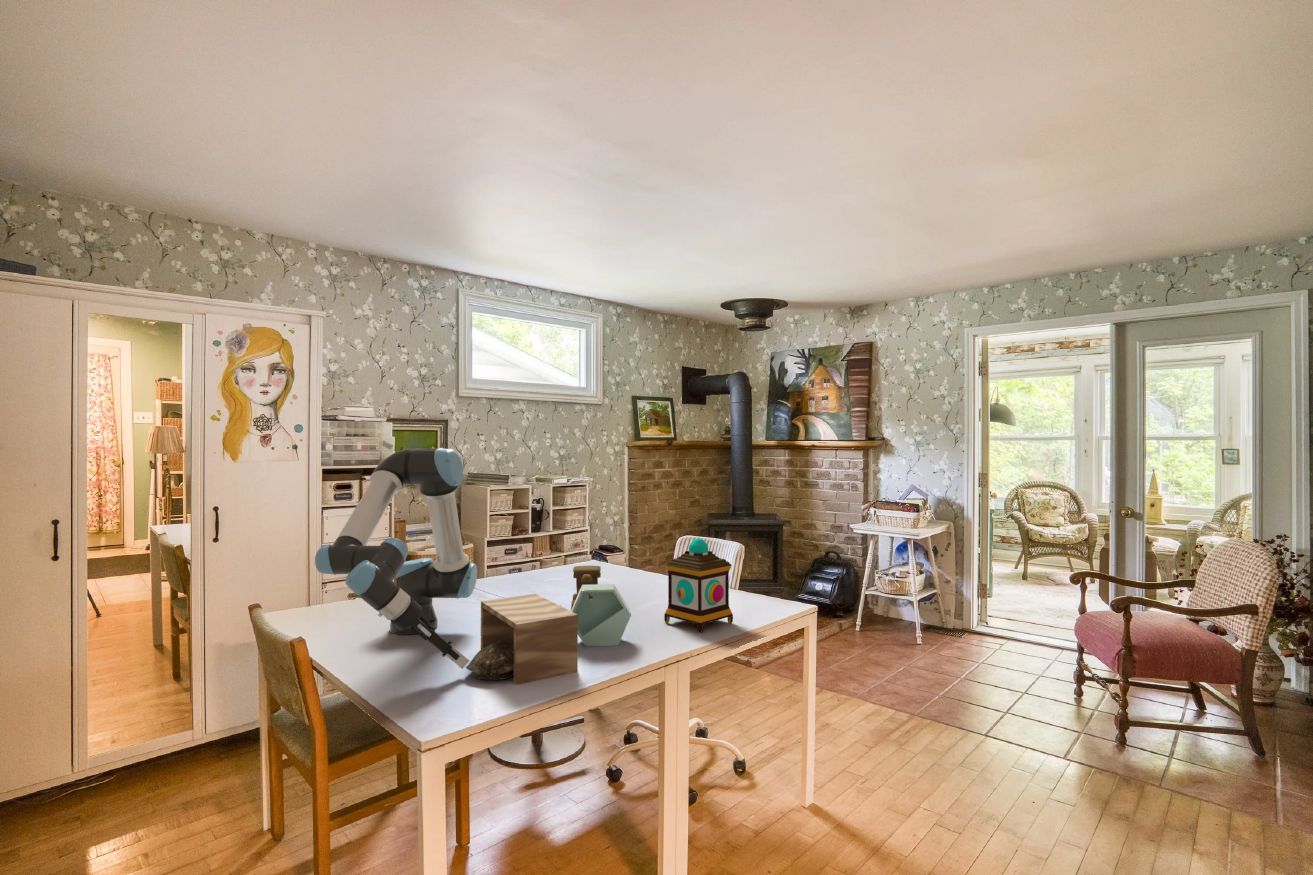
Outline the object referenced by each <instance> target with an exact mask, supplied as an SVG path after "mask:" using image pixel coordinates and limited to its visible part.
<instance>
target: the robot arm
mask: <svg viewBox="0 0 1313 875" xmlns="http://www.w3.org/2000/svg"><path fill="white" fill-rule="evenodd" d="M463 472H464V467H463V461H462V459H461V457H460V455H459V453H458V452H457V451H455V450H454V449H452V448H442V447H438V448H403V449H400V450H398V451H395V452H394V453H392V454H390V455H389V456H387V457H385V459H383V460H382V461H380V463H379V464H378V465H377V466H376V467H375V469H374V470H373V471H372V473H371V474H370V477H369V485H368V487H367V489H366V490H365V492H364V493H363V495H362V497H361V498H360V500H359V502H358V503H357V505H356V507H355V508H354V510H353V511H352V513H351V514H350V516H349V518H348V519H347V521H346V523H345V525H344V526H343V528H342V529H341V531H340V533H339V535H338V536H337V538H336V539H335V541H334V542H333V544H327V545H323V546H321V547H319V548H318V550H317V551H316V554H315V556H314V565H315V568H316V570H317V572H318V573H320V574H324V575H333V576H337V575H347V576H346V578H345V580H344V582H345V585H346V586H347V587H348V588H349V589H350V590H351V591H352V592H353V593H354V594H355V595H356V596H358V597H359V598H360V599H361V600H362V601H364V602H365V603H366V604H368V605H369V606H370V607H372V608H373V609H374V610H375V611H377V613H378V614H377V616H378V617H380V618H381V617H382V616H383V617H384V618H385V619H386V620H387V621H390V623H389V631H391V632H390V633H392V632H393V633H392V634H396V635H404V634H405V635H417V636H419V637H421V638H422V640H423V639H424V640H425V641H428V642H429V643H431V645H433V646H434V647H436V649H438V650H439V651H441V652H442V654H441V656H442V657H443V658H444V657H446V656H447V658H448V659H449V660H451V661H452V662H453V663H454V664H455V665H457V667H459V668H460V669H462V670H463V669H464V668H466V667H467V665H468V664H469V663H470V660H469V659H468V658H467V657H466V656H465V655H464V654H463V653H461V652H460V651H459V649H457V648H456V647H454V645H452V643H453V641H451V640H448V641H447V640H446V639H445V638H443V637H442V636H441V635H440V634H438V632H436V629H437V628H438V625H439V624H438V622H439V620H438V617H437V614H436V611H435V608H434V605H433V599H456V600H458V599H466V598H469V597H470V596H471V595H472V594H473V593H474V589H475V587H476V583H477V579H478V566H477V564H476V563H474V562H470V561H471V560H470V557H469V555H468V554H466V553H465V552H464V547H463V542H462V540H463V539H462V533H461V527H460V522H459V515H458V514H459V513H458V508H457V501H456V495H455V494H456V493H455V492H456V491H457V490H458V488H459V485H460V484H461V483H462V482H463V478H464V474H463ZM406 486H417V487H418V486H419V490H420V494H421V495H422V496H423V497H425V498H426V501H427V502H426V503H427V507H428V508H427V509H428V514H429V519H430V526H431V532H432V536H433V537H432V538H433V543H434V548H435V554H436V556H435V557H436V559H435V560H433V558H431V557H424V558H416V559H411V560H407V561H406V558H407V557H408V554H409V548H408V546H407V544H406V543H405V541H403V540H401V539H399V538H396V537H389V538H386V539H385V540H383V541H382V542H381V543H380V545H367V544H368V542H369V540H370V539H371V538H372V536H373V533H374V532H375V531H376V528H377V526H378V525H379V523H380V521H381V519H382V517H383V516H384V514H385V512H386V510H387V508H388V507H389V505H390V503H391V501H392V499H393V498H394V495H397V494H399V493H400V492H401V490H402V488H404V487H406ZM394 579H395V582H394V581H393V580H394Z"/></svg>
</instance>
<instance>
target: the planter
mask: <svg viewBox="0 0 1313 875" xmlns="http://www.w3.org/2000/svg"><path fill="white" fill-rule="evenodd" d="M587 593H589V595H590V596H592V597H593V598H592V599H589V596H588V594H587ZM570 611H571V612H573V613H575V614H577V615H578V637H579V639H580V640H581V641H582V643H583V645H584V646H585V647H607V646H608V647H609V646H611V647H612V646H618V645H619V644H620V643H621V640H622V637H623V636H624V632H625V631H626V628H627V626H628V624H629V621H630V619H631V617H632V613H631V608H630V607H629V605H628V604H627V602H626V600H625V599H624V597H623V596H622V594H621V593H620V591H619V590H618V588H617V587H616V586H615V584H614V583H613V584H611V583H609V584H607V583H606V584H605V583H603V584H599V583H598V584H596V585H582V586H581V589H580V591H579V593H578V596H577V598H576V600H575V603H574V605H573V607H572V610H571V609H570Z"/></svg>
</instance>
